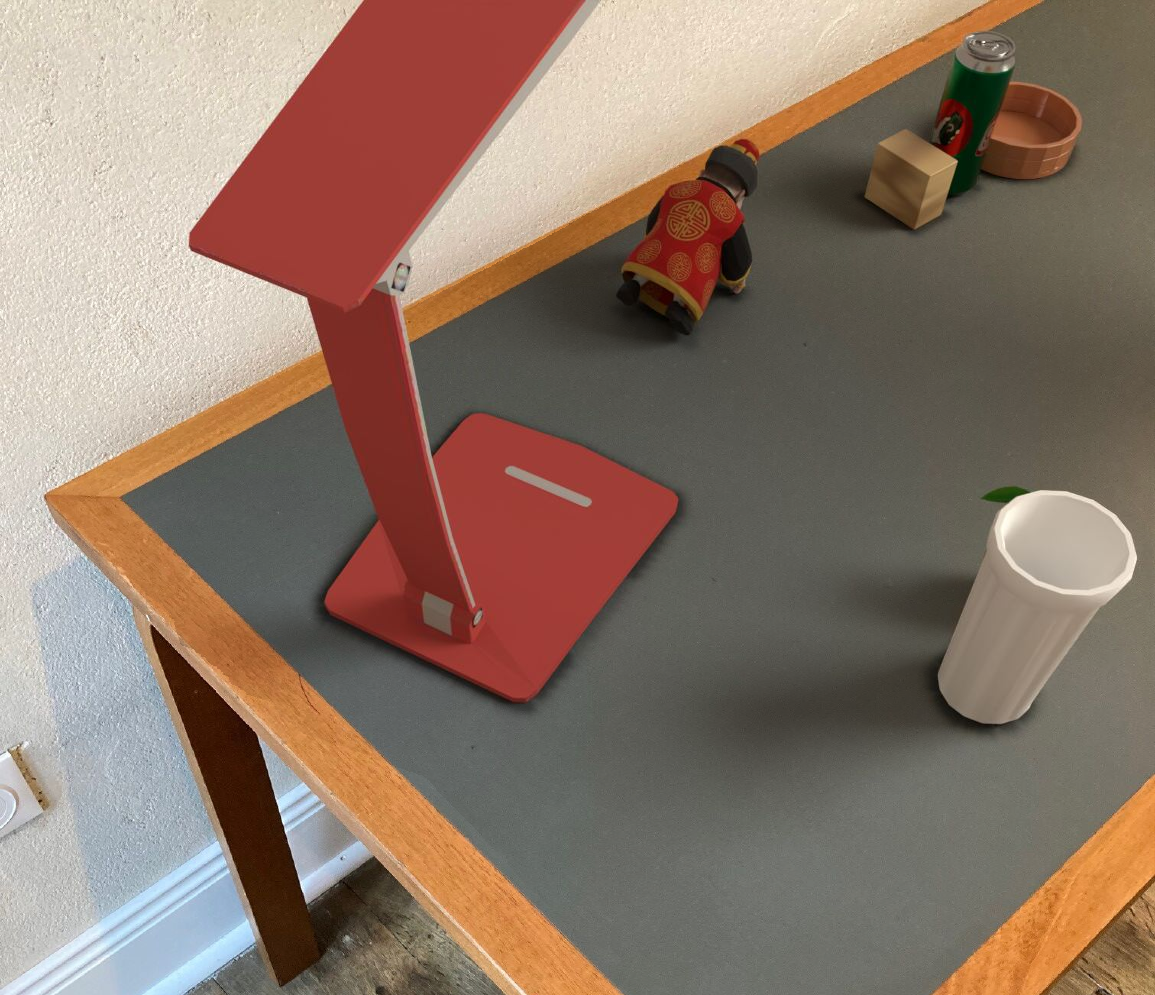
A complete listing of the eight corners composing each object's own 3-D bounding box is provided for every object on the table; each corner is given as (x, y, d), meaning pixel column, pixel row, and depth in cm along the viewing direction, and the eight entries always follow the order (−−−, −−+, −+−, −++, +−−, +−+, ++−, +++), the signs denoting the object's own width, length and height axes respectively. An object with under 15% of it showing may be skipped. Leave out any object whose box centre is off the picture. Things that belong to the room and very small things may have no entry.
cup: (927, 628, 80) (995, 476, 67) (1047, 652, 79) (1139, 502, 67) (916, 724, 76) (987, 581, 63) (1043, 751, 75) (1139, 611, 63)
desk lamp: (748, 406, 90) (869, -242, 56) (491, 780, 73) (437, 170, 39) (547, 329, 95) (545, -319, 60) (258, 664, 77) (22, 20, 43)
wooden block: (941, 214, 104) (958, 160, 99) (914, 230, 102) (930, 176, 98) (891, 182, 106) (905, 128, 102) (864, 197, 105) (877, 143, 100)
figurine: (708, 368, 98) (803, 213, 98) (698, 318, 89) (803, 147, 88) (613, 317, 100) (706, 164, 100) (593, 263, 91) (696, 94, 90)
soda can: (975, 202, 105) (1021, 64, 94) (918, 195, 105) (958, 57, 95) (974, 169, 107) (1019, 31, 97) (918, 163, 107) (958, 24, 97)
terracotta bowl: (1092, 151, 109) (1105, 119, 106) (1019, 193, 105) (1031, 161, 103) (1004, 100, 113) (1015, 68, 110) (931, 139, 109) (940, 107, 107)
